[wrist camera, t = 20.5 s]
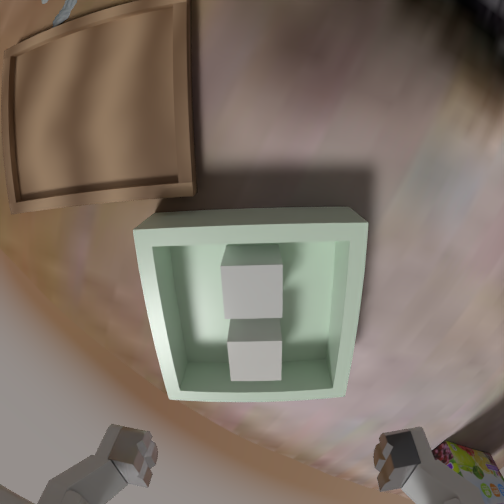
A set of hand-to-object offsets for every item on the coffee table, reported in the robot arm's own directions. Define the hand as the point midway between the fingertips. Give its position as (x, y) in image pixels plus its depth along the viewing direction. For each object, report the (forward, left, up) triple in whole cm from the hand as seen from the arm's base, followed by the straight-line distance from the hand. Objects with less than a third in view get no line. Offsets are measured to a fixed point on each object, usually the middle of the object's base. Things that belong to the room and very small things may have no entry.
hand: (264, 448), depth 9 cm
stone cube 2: (+1, 0, -17) cm, 16 cm away
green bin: (+1, +3, -17) cm, 18 cm away
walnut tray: (+14, -14, -17) cm, 26 cm away
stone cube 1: (+1, +6, -17) cm, 18 cm away
